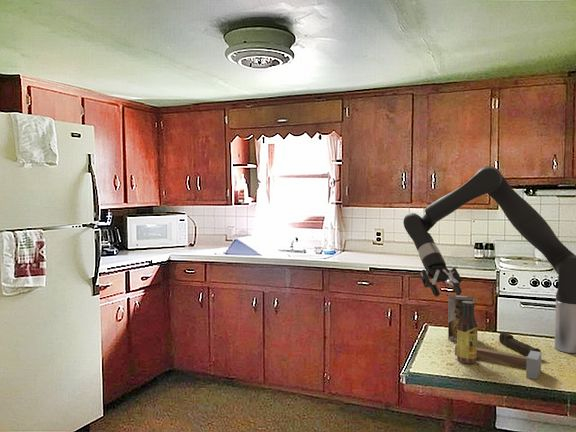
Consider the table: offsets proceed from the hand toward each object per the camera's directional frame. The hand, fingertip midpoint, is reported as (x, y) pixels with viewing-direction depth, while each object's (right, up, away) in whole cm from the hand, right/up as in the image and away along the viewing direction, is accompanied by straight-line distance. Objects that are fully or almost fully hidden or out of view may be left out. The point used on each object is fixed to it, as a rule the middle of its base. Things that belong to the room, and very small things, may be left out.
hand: (448, 294), depth 170 cm
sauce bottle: (+3, -21, -9) cm, 23 cm away
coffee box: (+9, -19, +14) cm, 25 cm away
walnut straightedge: (+11, -20, -9) cm, 25 cm away
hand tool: (+24, -20, +1) cm, 31 cm away
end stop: (+19, -21, -21) cm, 35 cm away
